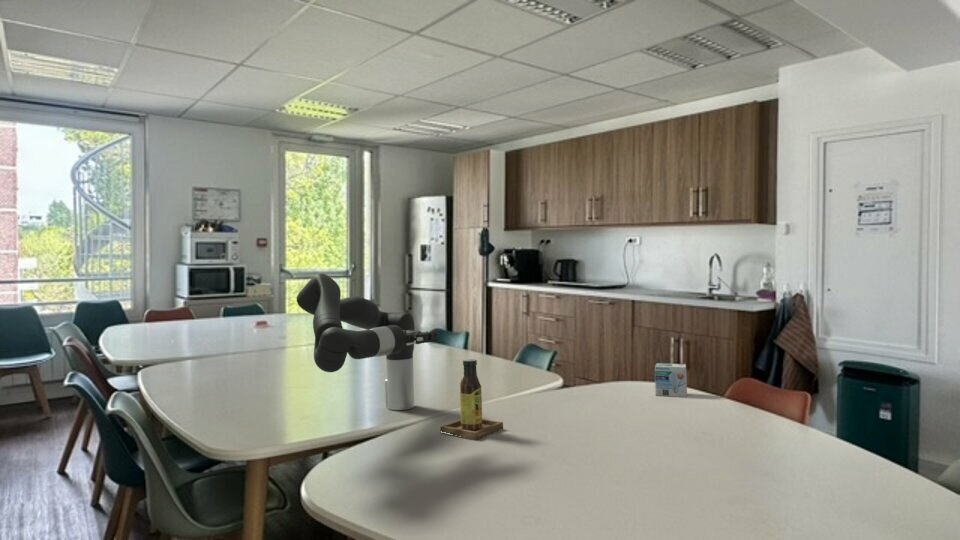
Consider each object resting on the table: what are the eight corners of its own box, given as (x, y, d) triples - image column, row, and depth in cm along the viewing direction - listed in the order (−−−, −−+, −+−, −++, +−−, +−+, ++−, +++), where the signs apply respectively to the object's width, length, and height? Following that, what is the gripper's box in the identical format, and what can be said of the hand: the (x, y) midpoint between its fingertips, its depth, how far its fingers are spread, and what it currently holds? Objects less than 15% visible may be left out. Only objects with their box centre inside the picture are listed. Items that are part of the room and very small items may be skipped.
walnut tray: (440, 433, 160) (440, 426, 160) (468, 423, 170) (468, 416, 170) (475, 440, 152) (475, 433, 152) (503, 429, 162) (502, 422, 163)
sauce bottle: (480, 431, 157) (477, 361, 158) (458, 431, 159) (456, 361, 159) (484, 425, 164) (482, 358, 164) (464, 425, 165) (461, 358, 165)
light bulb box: (655, 395, 199) (654, 365, 199) (656, 392, 205) (655, 362, 206) (686, 397, 195) (685, 366, 195) (687, 393, 201) (686, 363, 202)
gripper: (402, 327, 140) (444, 321, 153) (364, 325, 149) (406, 320, 162) (403, 357, 140) (445, 348, 153) (365, 353, 149) (407, 345, 162)
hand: (425, 334), depth 157 cm, fingers open, 8 cm apart
